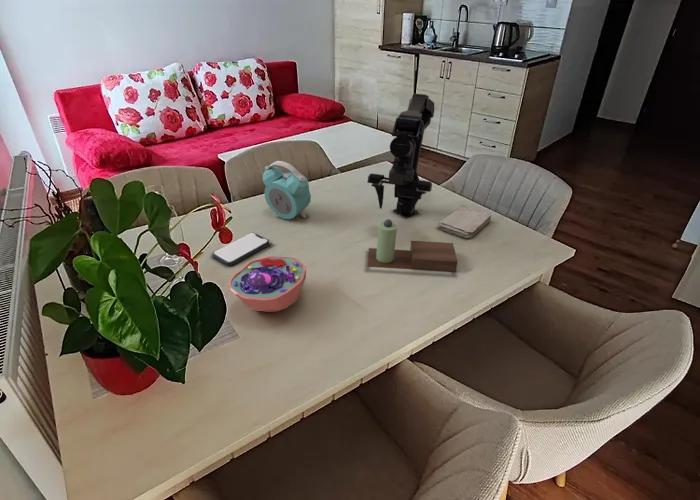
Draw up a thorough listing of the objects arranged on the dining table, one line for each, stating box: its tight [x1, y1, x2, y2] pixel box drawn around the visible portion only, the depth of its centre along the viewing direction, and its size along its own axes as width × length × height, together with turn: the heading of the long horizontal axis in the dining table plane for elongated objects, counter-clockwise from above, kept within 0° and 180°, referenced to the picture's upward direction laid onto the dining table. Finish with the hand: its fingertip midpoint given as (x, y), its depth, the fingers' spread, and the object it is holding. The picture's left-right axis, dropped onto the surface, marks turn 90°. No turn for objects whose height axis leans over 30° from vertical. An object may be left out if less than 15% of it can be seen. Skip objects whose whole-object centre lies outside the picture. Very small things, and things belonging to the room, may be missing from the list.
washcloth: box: [437, 206, 492, 239], centre depth 148 cm, size 12×18×3 cm, turn 142°
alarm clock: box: [262, 160, 312, 220], centre depth 146 cm, size 17×10×20 cm, turn 58°
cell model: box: [228, 256, 307, 313], centre depth 109 cm, size 17×20×11 cm
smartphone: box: [212, 232, 270, 267], centre depth 131 cm, size 9×2×16 cm
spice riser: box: [367, 240, 459, 273], centre depth 127 cm, size 10×25×5 cm, turn 86°
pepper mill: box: [376, 218, 398, 263], centre depth 124 cm, size 5×5×13 cm
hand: (395, 211), depth 131 cm, fingers open, 9 cm apart
